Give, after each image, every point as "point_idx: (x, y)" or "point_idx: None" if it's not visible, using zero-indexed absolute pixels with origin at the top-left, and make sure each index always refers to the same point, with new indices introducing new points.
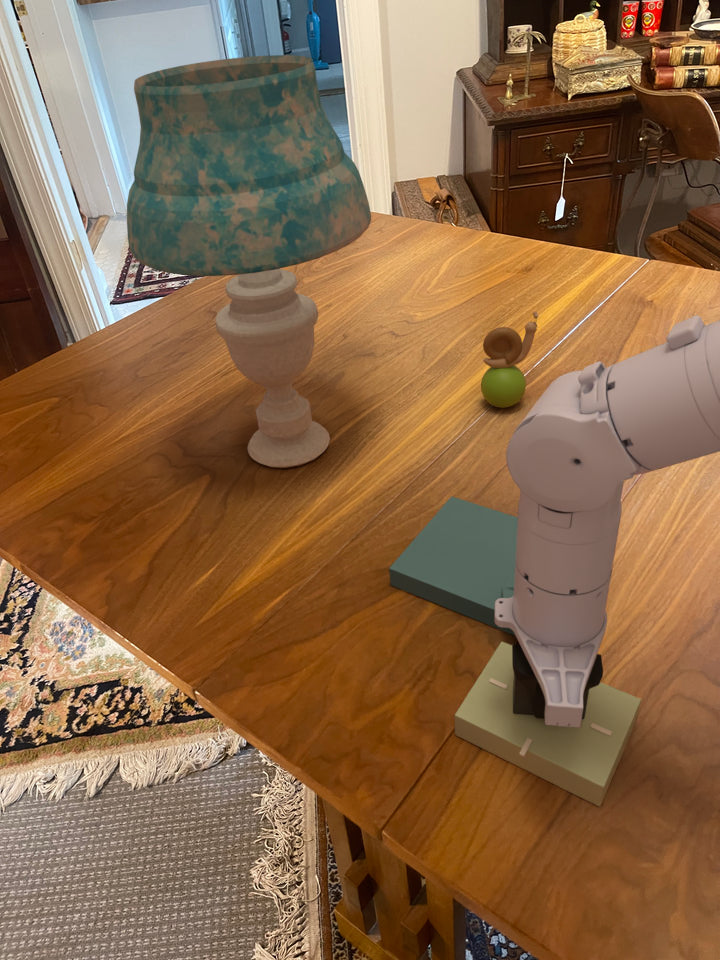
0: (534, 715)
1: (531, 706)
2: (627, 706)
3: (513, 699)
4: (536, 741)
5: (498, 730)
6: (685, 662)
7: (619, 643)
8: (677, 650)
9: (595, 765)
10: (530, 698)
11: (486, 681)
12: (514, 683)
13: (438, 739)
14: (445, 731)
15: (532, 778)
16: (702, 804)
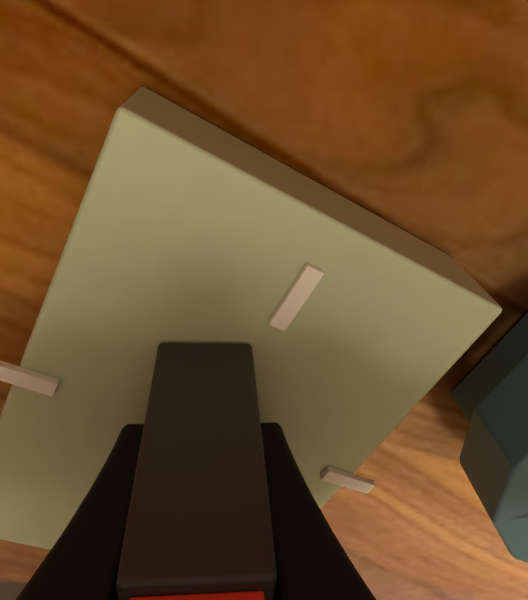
0: (122, 431)
1: (103, 471)
2: None
3: (157, 394)
4: (58, 402)
5: (76, 291)
6: (377, 577)
7: (446, 500)
8: (407, 570)
9: (19, 519)
10: (52, 548)
11: (312, 253)
12: (140, 490)
13: (111, 10)
14: (155, 44)
15: (33, 324)
16: None
